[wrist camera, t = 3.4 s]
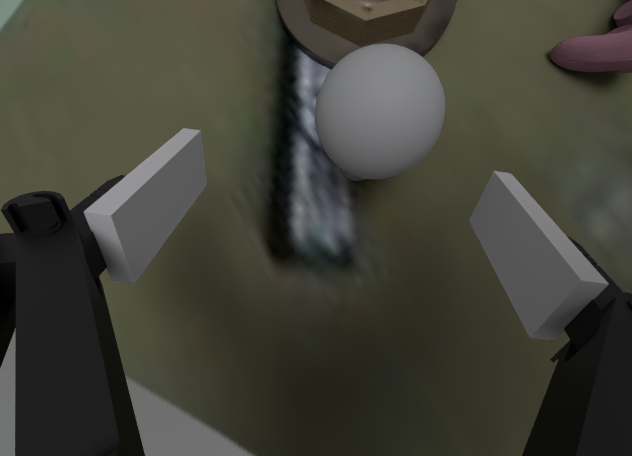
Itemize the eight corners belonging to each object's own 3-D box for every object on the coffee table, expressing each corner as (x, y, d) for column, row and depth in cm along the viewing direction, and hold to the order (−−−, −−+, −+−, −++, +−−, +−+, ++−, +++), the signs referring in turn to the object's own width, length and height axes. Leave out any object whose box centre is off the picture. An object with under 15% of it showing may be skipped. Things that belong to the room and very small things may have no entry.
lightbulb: (301, 145, 23) (292, 39, 12) (376, 116, 24) (431, -13, 13) (333, 221, 23) (352, 177, 12) (410, 189, 23) (497, 119, 12)
